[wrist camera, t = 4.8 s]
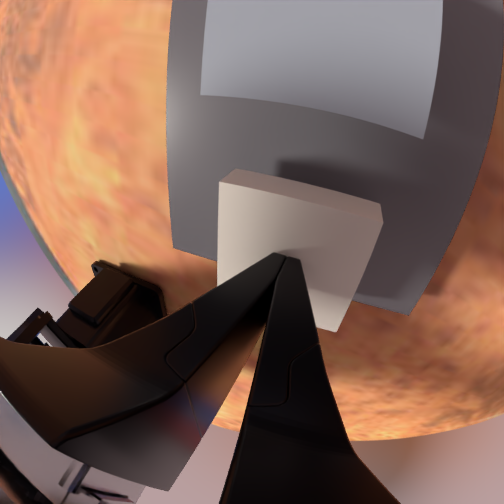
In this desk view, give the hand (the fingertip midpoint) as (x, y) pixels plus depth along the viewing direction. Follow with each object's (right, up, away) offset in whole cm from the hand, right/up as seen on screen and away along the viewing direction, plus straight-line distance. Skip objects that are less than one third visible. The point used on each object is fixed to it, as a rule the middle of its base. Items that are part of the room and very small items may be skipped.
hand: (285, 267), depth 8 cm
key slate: (+1, +6, -3) cm, 7 cm away
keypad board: (+2, +8, -2) cm, 8 cm away
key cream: (+1, +1, +2) cm, 2 cm away
